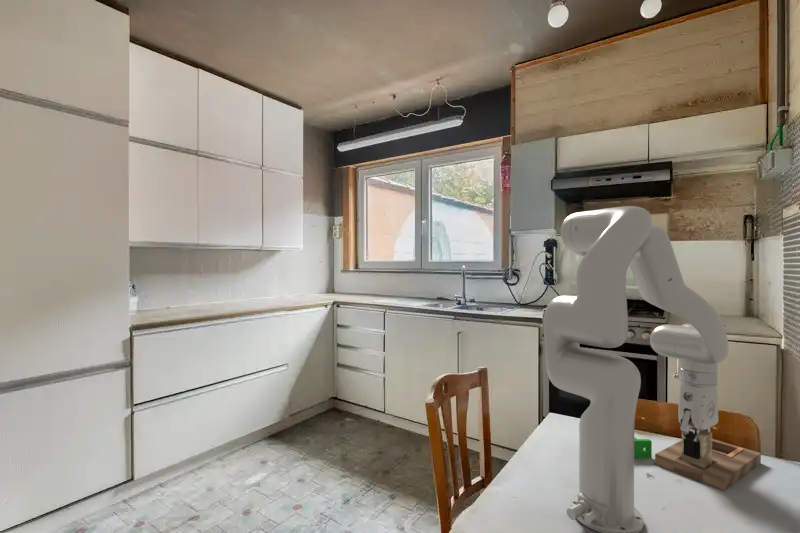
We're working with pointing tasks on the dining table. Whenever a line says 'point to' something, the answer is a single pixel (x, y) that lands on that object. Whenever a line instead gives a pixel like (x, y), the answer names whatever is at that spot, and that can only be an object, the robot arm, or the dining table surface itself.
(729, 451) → the socket plate
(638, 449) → the pipe clamp
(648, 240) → the robot arm
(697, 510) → the dining table surface
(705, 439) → the maple peg
